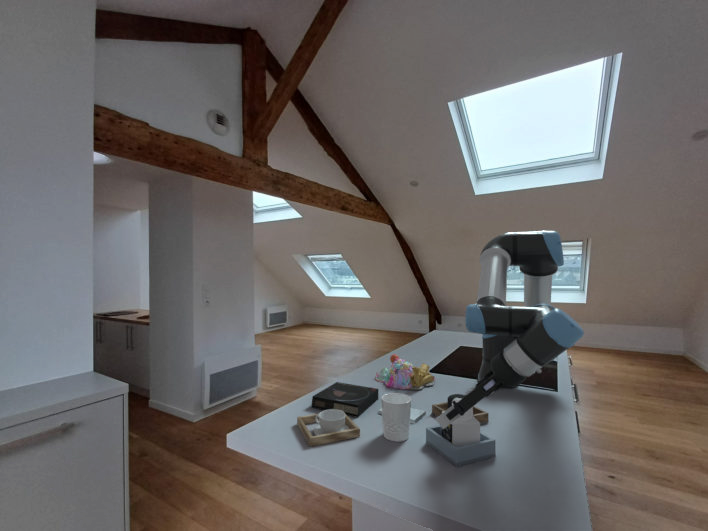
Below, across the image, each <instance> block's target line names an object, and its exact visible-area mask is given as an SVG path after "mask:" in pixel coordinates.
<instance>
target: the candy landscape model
mask: <svg viewBox="0 0 708 531" xmlns="http://www.w3.org/2000/svg"><path fill="white" fill-rule="evenodd" d="M389 357H390V358H389V360H390V363H391V365H390V370H389V369H388V368H387V367H385V366H384V367H382V368H381V369H380V370H379V373H378V372H376V374H375V381H377V382H379V383H384V385H385V386H386V387H387V388H391V389H392V388H393V389H397V390H416V391H418V390H421V389H423V388H425V387H428V386H434V384H435V381H436V377H435V376H433V375H432V374H431V372H430V371H429V370H430V368H431V366H429V365H428V364H426V363H421V366H417V367H416V366H415V365H413V363H412V362H408V361H406V360H405V359H401V358H400V356H399V355H398V354H395V353H393V354H392V355H391V356H389Z"/></svg>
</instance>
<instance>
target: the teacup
mask: <svg viewBox="0 0 708 531" xmlns="http://www.w3.org/2000/svg"><path fill="white" fill-rule="evenodd" d="M318 414H319V415H317V416H316V417H315V421H316V422H315V423H316V424H317V425H316V426H315V427H314V429H313V433H314V436H317V435H323V434H328V433H333V432H339V431H344V430H349V429H350V428H349V427H348V426H347V425H346V424H345V416H346V414H345V413H344V412H343V411H341V410H336V409H329V410H322V411H320V412H319V413H318ZM317 417H318V418H319V421H318V419H317Z"/></svg>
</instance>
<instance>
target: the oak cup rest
mask: <svg viewBox="0 0 708 531" xmlns="http://www.w3.org/2000/svg"><path fill="white" fill-rule="evenodd" d="M341 411H342V410H341ZM317 415H319V413H315V414H313V413H312V414H308V415H307V414H306V415H301V416H297V417H296V418H297V421H296V424H297V426H298V428H299V430H300V432H301V433H302V435H303V437H304V438H305V440H306V442H307V443H308V446H309V447H314V446H321V445H326V444H330V443H335V442H340V441H345V440H349V439H350V440H351V439H353V438H354V439H355V438H359V437H360V436H361V429H360V427H359V426H357V424H356V423H355V422H354V421H353V420H352V419H351V418H350V416H349V415H346V416H345V423H344V424H345V425H347V426H348V427H349V428H350V429H349V430H344V431H339V432H333V433H328V434H323V435H314V436H313V435H312V433H311V432H310V430H309V429H308V427H307V425H308V424H313V423H316V421H315V417H316V416H317ZM317 419H318V421H319V418H318V417H317ZM306 424H307V425H306ZM360 438H361V437H360Z"/></svg>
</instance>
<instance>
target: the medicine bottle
mask: <svg viewBox="0 0 708 531" xmlns="http://www.w3.org/2000/svg"><path fill="white" fill-rule="evenodd" d="M465 396H466V395H465V394H462V393H453V394H450V395H448V397H447V402H448V409H449V408H450V407H451V406H452V405H454V404H453V403H452V402H453V401H454V400H455V402H459V401H460V400H461V399H462V398H464V397H465ZM443 412H445V411H442V413H443ZM480 431H481V423H480V422H479V421H478V420H477V419H476V418H475V417H474V416H473V407H472V408H470V409H469V410H468V411H467V412H465V414H464V415H462V416H460V417H459V418H458V419H456V420H455V421H454V422H452V423H451V424H450V425H448V426H447V427H446V428H444V429H443V428H442V437H443V438H445V439H446V440H448V441H449V442H450V443H452V444H453V445H455V446H456V447H460V446H464V445H468V444H472V443H477V442H480Z"/></svg>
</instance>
